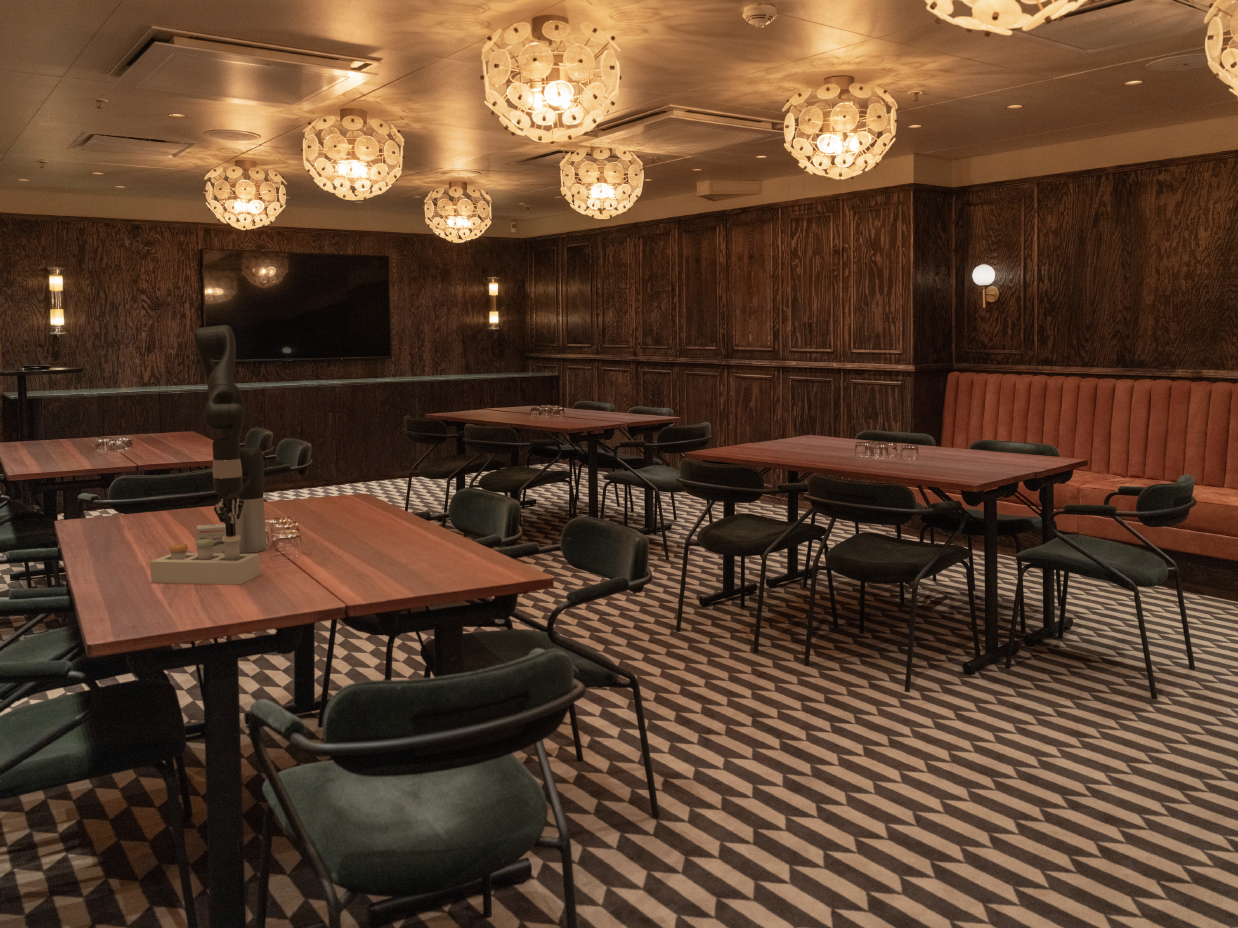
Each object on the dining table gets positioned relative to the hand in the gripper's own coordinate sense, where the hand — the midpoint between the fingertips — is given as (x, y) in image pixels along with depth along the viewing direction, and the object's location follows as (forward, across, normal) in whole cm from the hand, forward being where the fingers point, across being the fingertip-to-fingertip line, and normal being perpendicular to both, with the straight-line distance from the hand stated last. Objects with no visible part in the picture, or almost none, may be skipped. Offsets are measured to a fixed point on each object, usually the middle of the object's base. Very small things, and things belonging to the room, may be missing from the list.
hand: (230, 536), depth 276 cm
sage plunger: (+10, 0, -8) cm, 12 cm away
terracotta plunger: (+11, 0, -16) cm, 20 cm away
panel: (+12, 0, -8) cm, 15 cm away
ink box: (+13, -18, -16) cm, 27 cm away
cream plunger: (+8, 0, 0) cm, 8 cm away
